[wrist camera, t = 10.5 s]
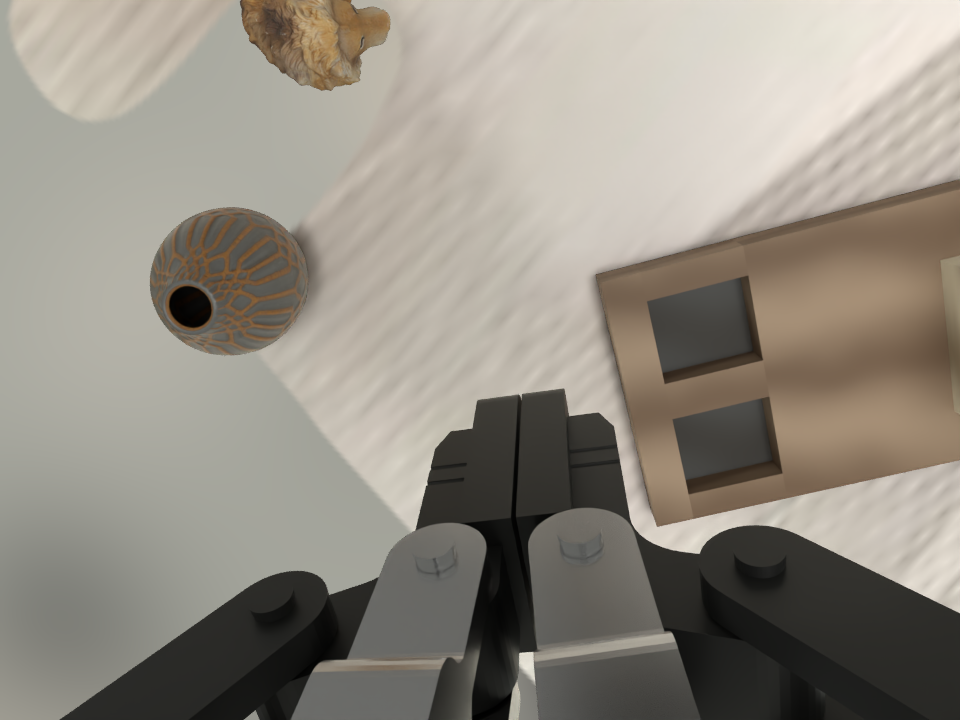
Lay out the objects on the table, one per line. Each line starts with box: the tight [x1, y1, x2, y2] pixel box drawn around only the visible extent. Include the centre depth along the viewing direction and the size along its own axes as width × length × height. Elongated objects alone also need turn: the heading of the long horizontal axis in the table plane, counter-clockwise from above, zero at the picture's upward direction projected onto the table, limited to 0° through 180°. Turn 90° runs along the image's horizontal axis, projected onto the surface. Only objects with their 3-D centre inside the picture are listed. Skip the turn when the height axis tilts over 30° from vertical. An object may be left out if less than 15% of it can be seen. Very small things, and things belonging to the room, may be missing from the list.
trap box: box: [596, 179, 960, 527], centre depth 38 cm, size 14×30×2 cm, turn 106°
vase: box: [150, 207, 308, 355], centre depth 35 cm, size 7×7×9 cm
